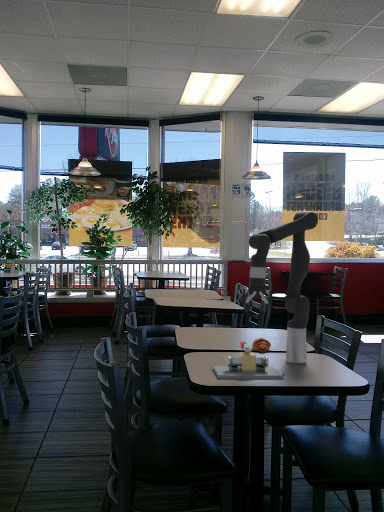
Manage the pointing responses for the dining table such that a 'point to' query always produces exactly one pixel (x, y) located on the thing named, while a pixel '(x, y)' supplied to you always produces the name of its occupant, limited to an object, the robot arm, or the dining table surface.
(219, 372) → the slate board
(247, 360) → the valve pipe
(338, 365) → the dining table surface
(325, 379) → the dining table surface
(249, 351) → the lever
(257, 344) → the croissant
